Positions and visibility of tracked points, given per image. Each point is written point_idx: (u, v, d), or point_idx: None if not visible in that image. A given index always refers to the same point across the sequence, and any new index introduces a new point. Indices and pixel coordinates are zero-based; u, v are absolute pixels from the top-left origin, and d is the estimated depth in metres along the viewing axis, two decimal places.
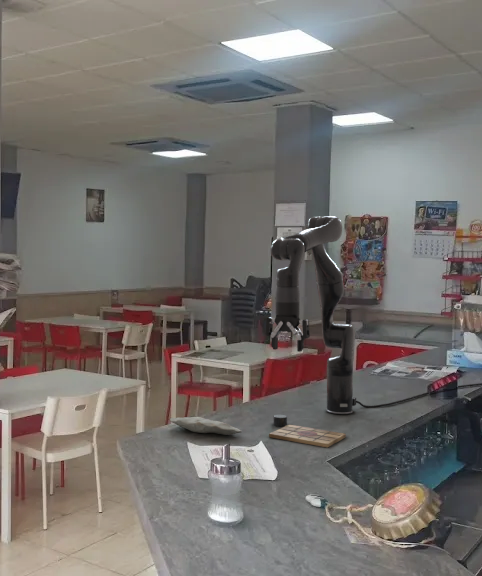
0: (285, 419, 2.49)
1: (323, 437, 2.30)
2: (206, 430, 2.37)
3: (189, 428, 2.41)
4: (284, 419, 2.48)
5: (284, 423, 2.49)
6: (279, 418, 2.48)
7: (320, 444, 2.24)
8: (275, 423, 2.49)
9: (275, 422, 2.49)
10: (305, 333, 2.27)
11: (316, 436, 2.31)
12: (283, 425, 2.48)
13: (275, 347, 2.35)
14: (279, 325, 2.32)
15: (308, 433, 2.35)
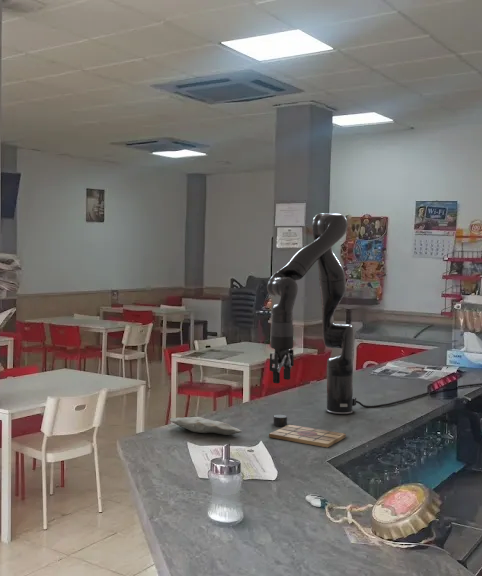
0: (285, 419, 2.49)
1: (323, 437, 2.30)
2: (206, 430, 2.37)
3: (189, 428, 2.41)
4: (284, 419, 2.48)
5: (284, 423, 2.49)
6: (279, 418, 2.48)
7: (320, 444, 2.24)
8: (275, 423, 2.49)
9: (275, 422, 2.49)
10: None
11: (316, 436, 2.31)
12: (283, 425, 2.48)
13: (285, 377, 2.51)
14: None
15: (308, 433, 2.35)
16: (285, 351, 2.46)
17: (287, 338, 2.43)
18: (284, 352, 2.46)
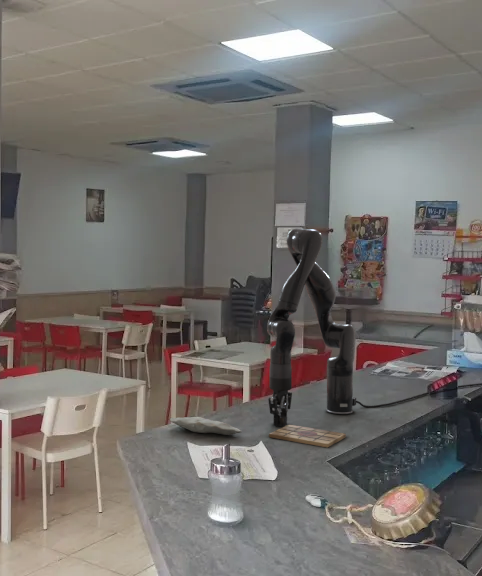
0: (285, 419, 2.49)
1: (323, 437, 2.30)
2: (206, 430, 2.37)
3: (189, 428, 2.41)
4: (284, 419, 2.48)
5: (284, 423, 2.49)
6: None
7: (320, 444, 2.24)
8: None
9: None
10: None
11: (316, 436, 2.31)
12: (283, 425, 2.48)
13: None
14: None
15: (308, 433, 2.35)
16: (284, 392, 2.50)
17: (285, 380, 2.46)
18: (282, 393, 2.49)
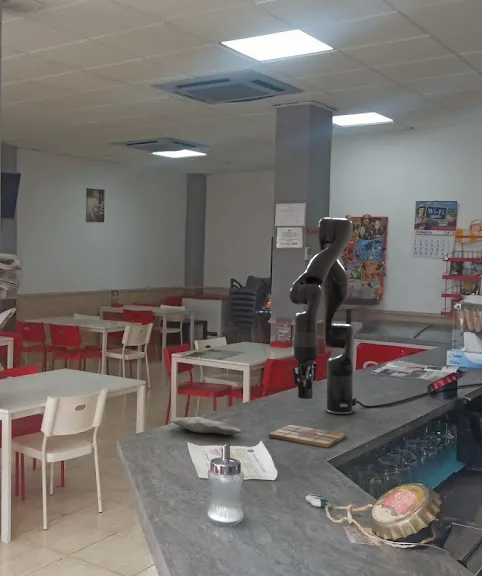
0: (310, 391, 2.33)
1: (323, 437, 2.30)
2: (206, 430, 2.37)
3: (189, 428, 2.41)
4: (309, 391, 2.33)
5: (309, 395, 2.33)
6: None
7: (320, 444, 2.24)
8: None
9: None
10: None
11: (316, 436, 2.31)
12: (308, 397, 2.33)
13: None
14: None
15: (308, 433, 2.35)
16: (309, 362, 2.34)
17: (311, 348, 2.31)
18: (308, 363, 2.34)
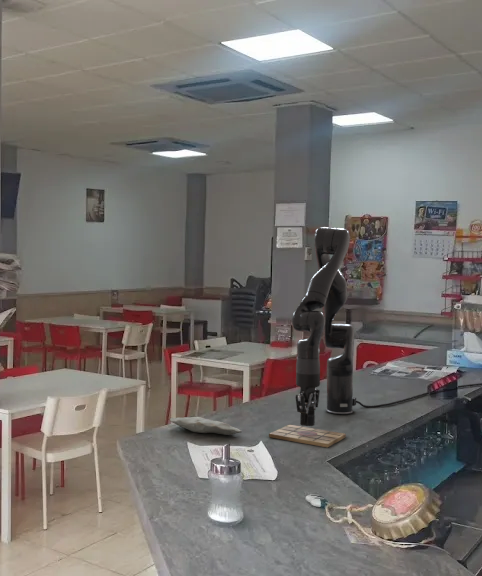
0: (313, 418, 2.33)
1: (323, 437, 2.30)
2: (206, 430, 2.37)
3: (189, 428, 2.41)
4: (312, 418, 2.32)
5: (312, 422, 2.32)
6: None
7: (320, 444, 2.24)
8: None
9: None
10: None
11: (316, 436, 2.31)
12: (311, 424, 2.32)
13: None
14: None
15: (308, 433, 2.35)
16: (311, 389, 2.34)
17: (314, 376, 2.30)
18: (310, 390, 2.33)
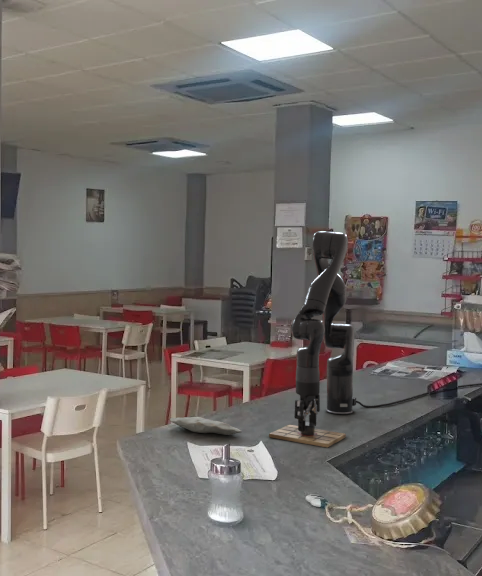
0: (313, 427, 2.33)
1: (323, 437, 2.30)
2: (206, 430, 2.37)
3: (189, 428, 2.41)
4: (312, 427, 2.33)
5: (312, 431, 2.33)
6: (306, 426, 2.33)
7: (320, 444, 2.24)
8: None
9: None
10: None
11: (316, 436, 2.31)
12: (311, 433, 2.33)
13: None
14: None
15: None
16: (311, 397, 2.34)
17: (313, 384, 2.30)
18: (310, 398, 2.33)
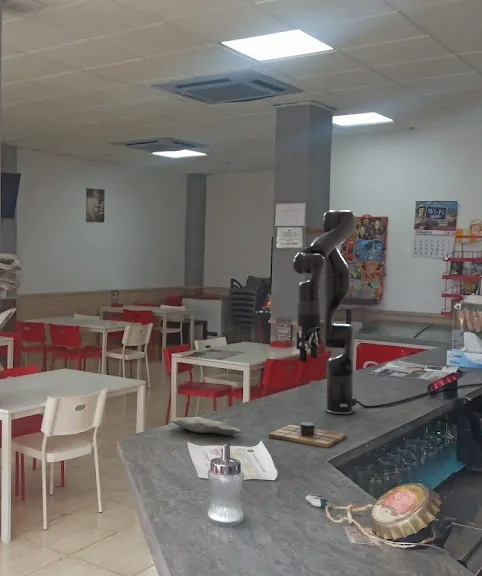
0: (313, 427, 2.33)
1: (323, 437, 2.30)
2: (206, 430, 2.37)
3: (189, 428, 2.41)
4: (312, 427, 2.33)
5: (312, 431, 2.33)
6: (306, 426, 2.33)
7: (320, 444, 2.24)
8: (302, 431, 2.33)
9: (302, 430, 2.33)
10: None
11: (316, 436, 2.31)
12: (311, 433, 2.33)
13: (312, 355, 2.47)
14: None
15: None
16: (312, 329, 2.43)
17: (314, 316, 2.39)
18: (311, 330, 2.42)
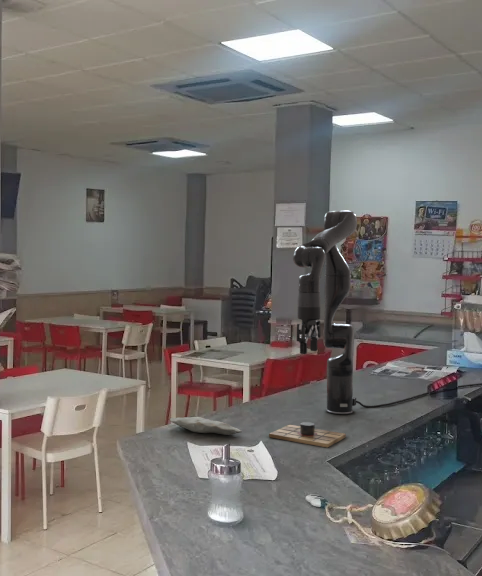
0: (313, 427, 2.33)
1: (323, 437, 2.30)
2: (206, 430, 2.37)
3: (189, 428, 2.41)
4: (312, 427, 2.33)
5: (312, 431, 2.33)
6: (306, 426, 2.33)
7: (320, 444, 2.24)
8: (302, 431, 2.33)
9: (302, 430, 2.33)
10: None
11: (316, 436, 2.31)
12: (311, 433, 2.33)
13: (312, 349, 2.49)
14: None
15: None
16: (312, 322, 2.45)
17: (314, 308, 2.41)
18: (311, 323, 2.44)
